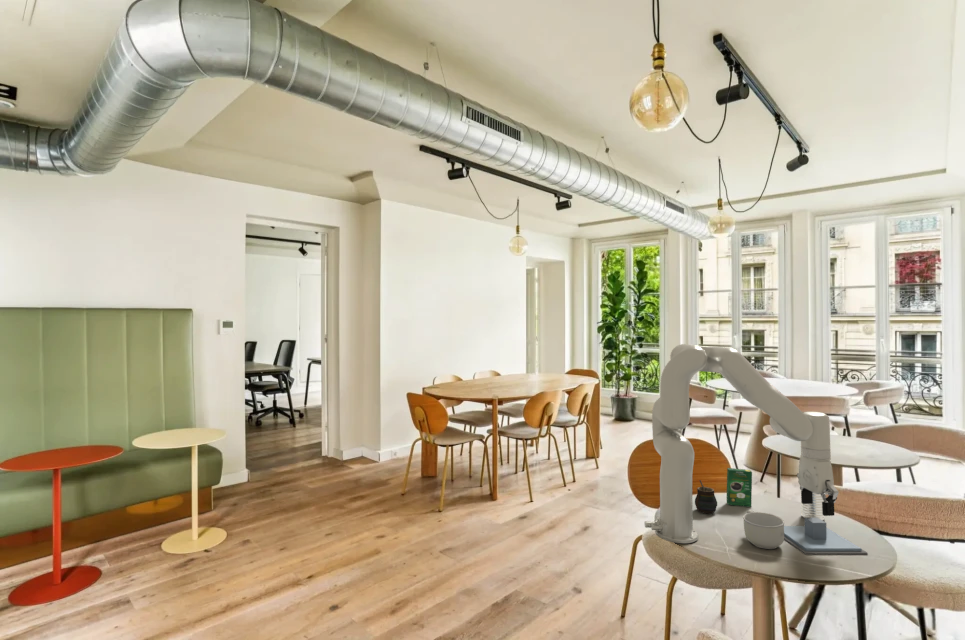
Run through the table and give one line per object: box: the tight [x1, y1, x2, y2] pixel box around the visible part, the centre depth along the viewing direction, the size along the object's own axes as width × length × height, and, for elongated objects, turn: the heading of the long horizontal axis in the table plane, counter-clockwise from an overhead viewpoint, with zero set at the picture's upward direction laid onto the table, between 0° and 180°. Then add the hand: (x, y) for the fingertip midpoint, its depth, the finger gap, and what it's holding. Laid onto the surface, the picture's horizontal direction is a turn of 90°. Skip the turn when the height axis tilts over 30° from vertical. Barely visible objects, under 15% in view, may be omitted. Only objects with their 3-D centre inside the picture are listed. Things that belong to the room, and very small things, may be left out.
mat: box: [784, 536, 868, 556], centre depth 153 cm, size 18×18×1 cm
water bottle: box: [800, 490, 826, 521], centre depth 171 cm, size 7×7×25 cm
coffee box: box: [726, 467, 753, 508], centre depth 183 cm, size 8×3×13 cm, turn 75°
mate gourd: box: [694, 479, 718, 515], centre depth 177 cm, size 7×8×10 cm
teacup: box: [742, 509, 785, 550], centre depth 152 cm, size 14×11×8 cm
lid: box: [784, 518, 863, 551], centre depth 153 cm, size 16×16×6 cm
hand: (817, 509), depth 153 cm, fingers open, 9 cm apart
